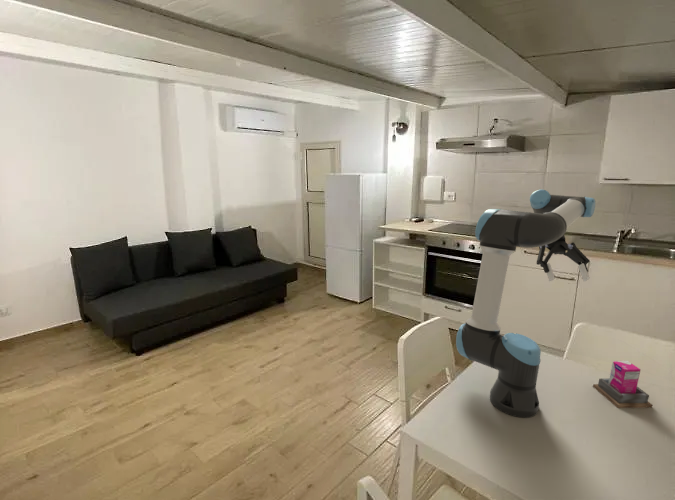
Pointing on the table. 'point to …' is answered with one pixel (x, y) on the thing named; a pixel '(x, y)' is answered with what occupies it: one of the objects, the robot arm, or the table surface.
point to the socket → (623, 396)
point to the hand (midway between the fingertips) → (569, 279)
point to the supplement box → (624, 377)
